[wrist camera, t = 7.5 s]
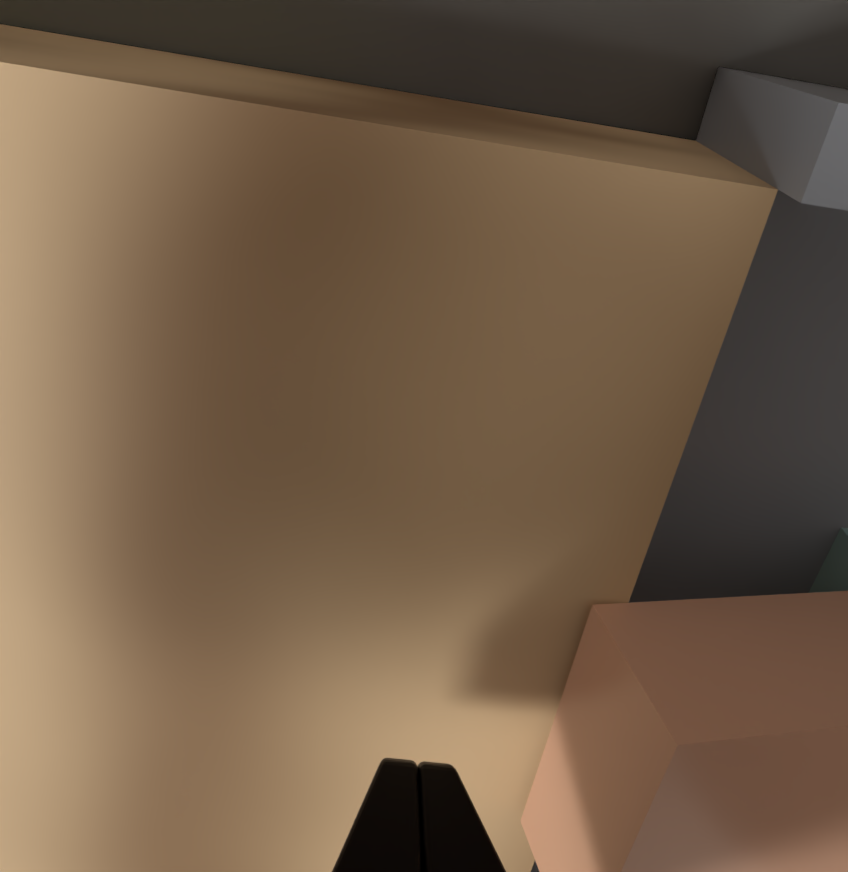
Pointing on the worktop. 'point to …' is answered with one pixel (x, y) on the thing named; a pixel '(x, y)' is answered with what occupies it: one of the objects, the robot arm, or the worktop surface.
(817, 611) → the terracotta block
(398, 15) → the worktop surface
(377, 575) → the tan rectangular slab
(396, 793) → the robot arm
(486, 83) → the worktop surface
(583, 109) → the worktop surface
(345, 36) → the worktop surface
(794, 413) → the tray
